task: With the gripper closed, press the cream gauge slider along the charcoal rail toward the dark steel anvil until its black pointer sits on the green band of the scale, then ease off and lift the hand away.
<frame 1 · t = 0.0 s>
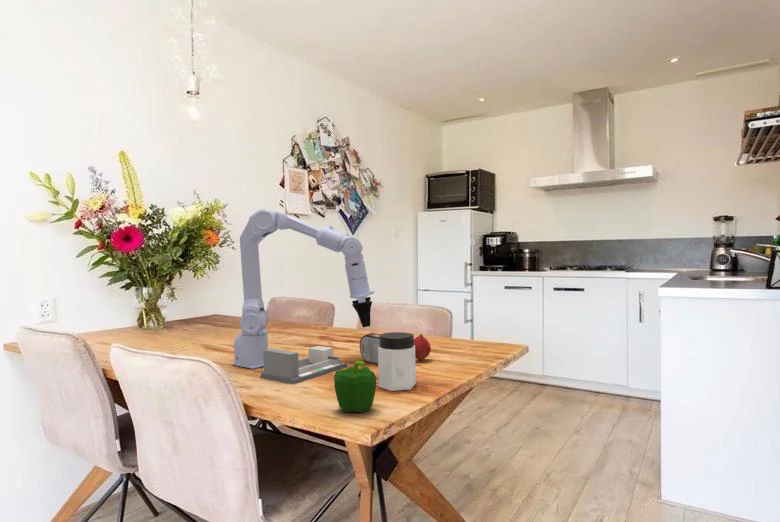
hand: (366, 324, 134), 11 cm above the table, tool pointing down, fingers open, 7 cm apart
gauge rail: (305, 371, 123), on the table
jar: (397, 386, 109), on the table
bell pepper: (355, 410, 93), on the table
tin: (379, 365, 130), on the table
onion: (420, 361, 133), on the table
slider: (325, 355, 127), point 3 cm above the table, slide at 0.0 cm
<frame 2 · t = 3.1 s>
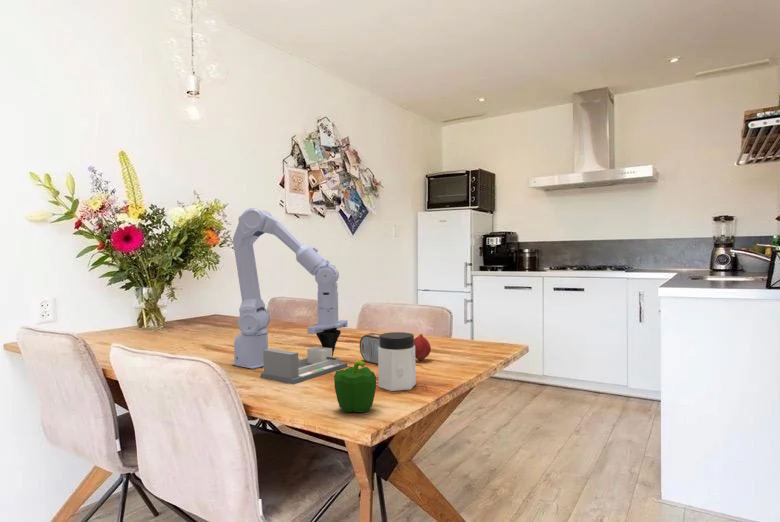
hand: (328, 356, 131), 2 cm above the table, tool pointing down, fingers closed
slider: (324, 356, 127), point 3 cm above the table, slide at 0.6 cm, touching gripper
everything else where it was.
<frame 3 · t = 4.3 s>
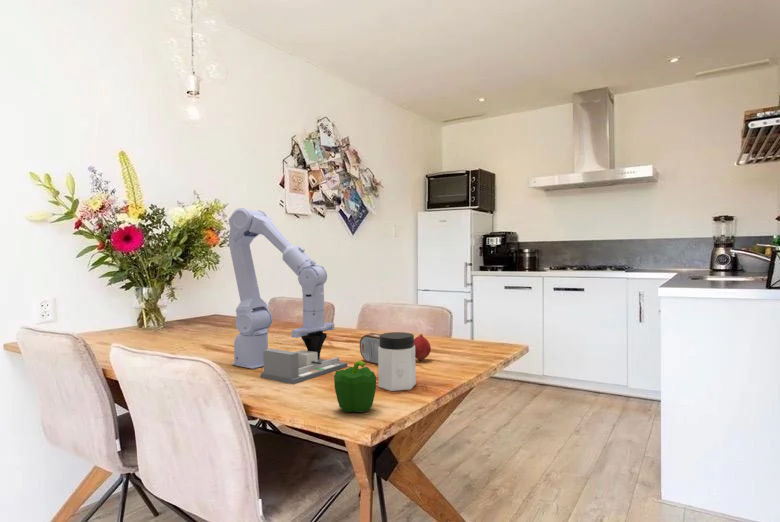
hand: (314, 360, 126), 2 cm above the table, tool pointing down, fingers closed
slider: (309, 360, 122), point 3 cm above the table, slide at 6.3 cm, touching gripper
everything else where it was.
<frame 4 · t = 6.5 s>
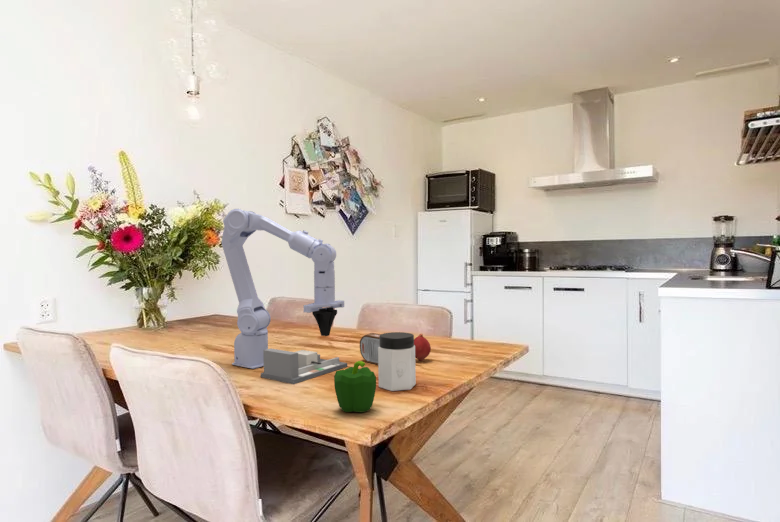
hand: (325, 335, 129), 8 cm above the table, tool pointing down, fingers closed
slider: (309, 360, 122), point 3 cm above the table, slide at 6.4 cm
everything else where it was.
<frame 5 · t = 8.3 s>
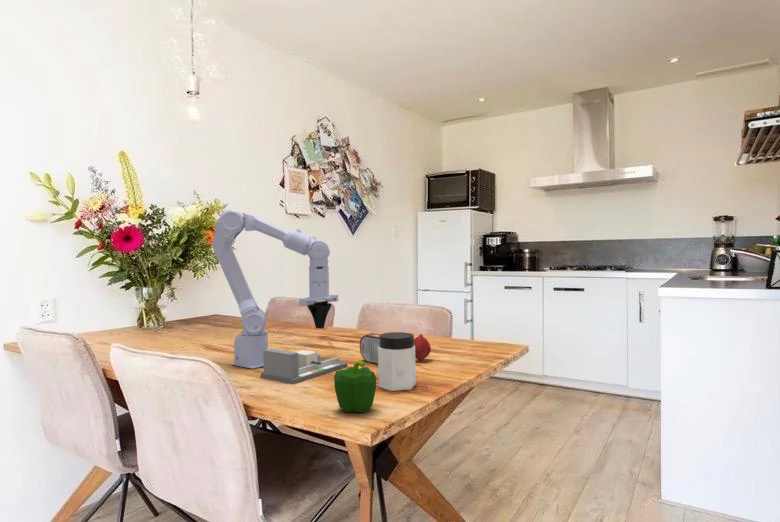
hand: (319, 328, 136), 9 cm above the table, tool pointing down, fingers closed
nothing on the table moved.
at the end: slider slide at 6.4 cm; the gripper is holding nothing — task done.
